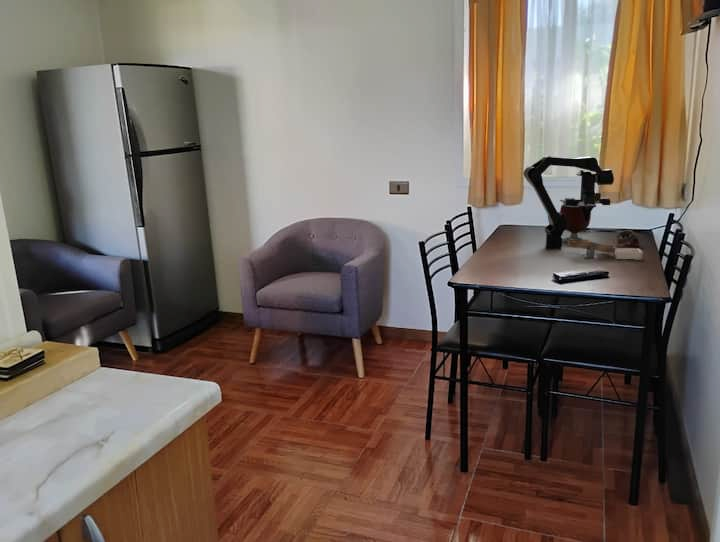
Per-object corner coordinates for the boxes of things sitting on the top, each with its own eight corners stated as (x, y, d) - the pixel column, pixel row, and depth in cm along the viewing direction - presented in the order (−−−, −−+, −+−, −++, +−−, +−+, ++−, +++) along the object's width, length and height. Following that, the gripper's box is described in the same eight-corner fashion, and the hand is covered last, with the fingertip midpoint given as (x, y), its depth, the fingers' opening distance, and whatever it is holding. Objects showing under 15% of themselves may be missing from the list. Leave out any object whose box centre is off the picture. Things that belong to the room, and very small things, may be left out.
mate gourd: (576, 236, 299) (578, 196, 294) (595, 241, 286) (598, 199, 281) (549, 239, 294) (551, 198, 290) (567, 244, 281) (570, 201, 277)
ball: (640, 252, 248) (636, 258, 249) (639, 251, 251) (634, 257, 252) (634, 248, 248) (629, 254, 249) (632, 247, 251) (628, 253, 252)
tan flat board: (569, 246, 252) (570, 239, 251) (565, 239, 265) (566, 233, 264) (614, 253, 249) (616, 246, 248) (607, 246, 262) (609, 240, 262)
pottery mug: (644, 248, 270) (639, 234, 266) (623, 257, 272) (618, 243, 269) (634, 237, 280) (629, 222, 277) (614, 245, 282) (608, 231, 279)
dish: (616, 259, 248) (616, 252, 247) (612, 255, 255) (613, 248, 255) (642, 259, 246) (643, 252, 246) (638, 256, 253) (638, 248, 253)
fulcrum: (585, 259, 250) (586, 247, 249) (582, 255, 258) (583, 243, 257) (598, 259, 249) (599, 247, 248) (594, 255, 257) (595, 243, 256)
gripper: (568, 187, 262) (566, 223, 266) (614, 187, 258) (611, 223, 262) (564, 185, 273) (563, 219, 276) (608, 184, 269) (606, 219, 273)
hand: (585, 220), depth 271 cm, fingers closed
